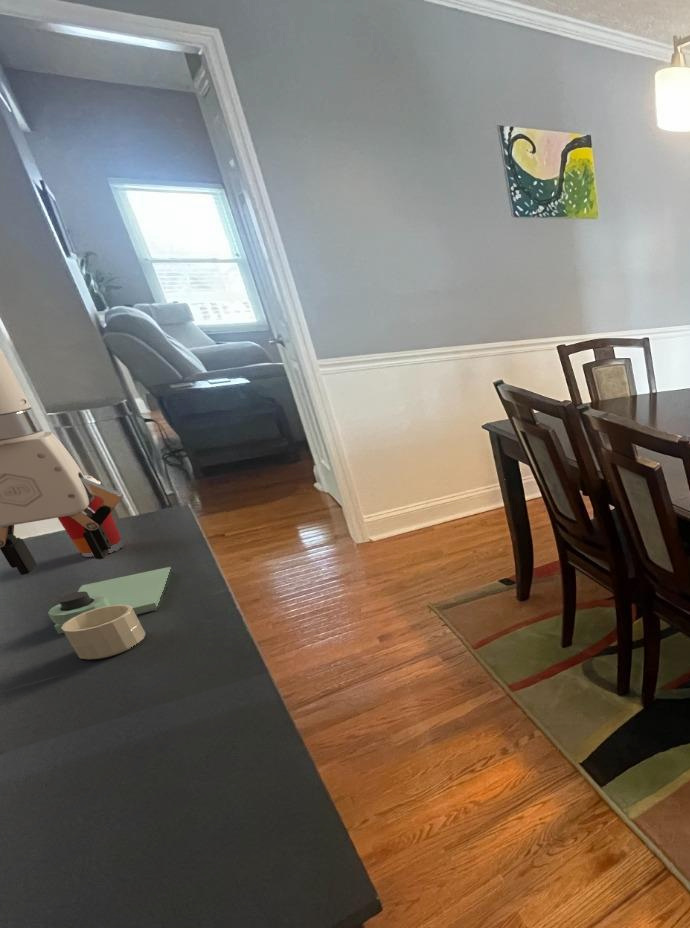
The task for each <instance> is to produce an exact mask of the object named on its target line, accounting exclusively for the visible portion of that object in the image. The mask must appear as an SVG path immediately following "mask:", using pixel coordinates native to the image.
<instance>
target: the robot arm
mask: <svg viewBox="0 0 690 928" xmlns="http://www.w3.org/2000/svg"><path fill="white" fill-rule="evenodd" d="M85 476H86V475H85V474H84V473H83V471H82V470H81V468H80V466H79V465H78V463H77V462H76V460H74V458H73V456H72V455H71V454H70V452H69V451H68V449H66V447H65V445H64V444H63V443H62V442H61V441H60V439H59V438H58V437H57V436H56V435H55V434H54V433H53V432H52V431H44V428H43V426H42V425H41V422H40V420H39V419H38V417H37V415H36V413H35V411H34V409H33V407H32V406H31V404H30V401H29V400H28V398H27V396H26V394H25V392H24V390H23V388H22V386H21V384H20V382H19V380H18V379H17V376H16V375H15V372H14V371H13V369H12V366H11V365H10V363H9V361H8V359H7V357H6V356H5V353H4V351H3V350H2V348H1V347H0V551H1V553H2V554H3V556H4V558H5V559H6V561H7V563H8V564H9V566H10V567H11V568H12V569H14V568H15V569H17V570H18V572H19V574H20V575H22V576H23V575H28V574H29V573H31V572H32V571H33V570H34V568H35V567H36V566H37V562H36V560H35V558H34V557H33V555H32V553H31V551H30V549H29V547H28V546H27V544H26V542H25V541H24V539H23V538H20V537H17V536H16V535H14V533H15V526H16V525H21V524H27V523H33V522H40V521H46V520H51V519H58V517H64V516H70V517H71V518H73V519H74V520H75V521H77V522H78V523H79V524H81V525H82V526H83V527H84V529H85V531H84V533H83V536H84V538H85V540H86V541H87V543H88V545H89V547H90V549H91V551H92V553H93V555H94V557H93V558H94V559H96V560H105V559H106V557H107V556H108V555H109V554H108V552H109V550H108V549H111V543H110V541H109V539H108V537H107V535H106V533H105V531H104V529H103V527H102V525H101V524H102V523H103V521H104V520H105V519H106V518H107V516H108V515H109V514H110V513H111V512H112V511H113V510H114V509H115V508H116V507H117V505H118V504H119V503H120V501H121V500H122V498H123V497H124V494H123V493H122V492H121V491H117V490H115V489H113V488H110V487H107V486H104V485H102V484H97V483H95V482H92V481H90V480H87V479H86V478H85ZM94 496H97V497H100V498H102V499H103V503H102V504H101V506H100V507H99V508H98V509H97V511H96V512H95V511H93V510H92V509H91V508H89V507H88V505H89V503H90V502H91V501H93V500H94ZM111 514H112V513H111Z"/></svg>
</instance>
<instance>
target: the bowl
mask: <svg viewBox="0 0 690 928" xmlns="http://www.w3.org/2000/svg"><path fill="white" fill-rule="evenodd" d="M61 629H62V631H63V632H64V633H63V635H64V636H65V638H66V639H67V641H68V642H69V644H70V646H71V648H72V649H73V651H74V653H75V654H76V656H77V657H78V658H79V659H82V660H101V659H105V658H109V657H113V656H116V655H119V654H121V653H124V652H127V651H128V650H129V651H130V649H132V648H134V647H135V646H137V645H138V644H139V643H140V642H141V641H143V640H144V639H145V637H146V632H145V629H144V627H143V625H142V624H141V622H140V620H139V618H138V615H136V614H135V612H134V610H133V608H132V607H131V606H130V605H125V604H118V605H110V606H105V607H101V608H97V609H94V610H91V611H88V612H85V613H82V614H80V615H78V616H75V617H73V618H71V619H70V620H68V621H67V622H65V623H64V624H63V626H62V627H61ZM137 643H138V644H137ZM136 644H137V645H136ZM134 645H135V646H134ZM133 646H134V647H133ZM131 647H132V648H131Z"/></svg>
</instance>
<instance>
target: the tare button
mask: <svg viewBox="0 0 690 928" xmlns="http://www.w3.org/2000/svg"><path fill="white" fill-rule="evenodd" d="M58 603H59V604H60V605H61V606H62V608H63V610H64V611H70V610H74V609H79V608H81V607H84V606H87V605H89V604H91V603H92V600H91V598H90V597H89V595H88V593H87V592H78V591H77V592H72V593H69V594H65V595H64V596H61V597H60V598H59V599H58Z"/></svg>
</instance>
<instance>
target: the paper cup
mask: <svg viewBox="0 0 690 928" xmlns="http://www.w3.org/2000/svg"><path fill="white" fill-rule="evenodd" d="M84 476H85V478H86V479H87V480H90V481H92V482H95V483H97V484H100V485H102V484H101V483H102V482H101V481H100V480H97V478H94V477H93V476H92V475H84ZM102 503H103V499H102V498H100V497H97V496H94V500H93V501H91V502H90V503H89V505H88V507H89V508H91V509H92V510H93V511H95V512H96V511H97V509H98V508H99V507H100V506H101V504H102ZM57 519H58V521H59V523H60V524H61V526H62V527H63V528H64V531H65V532H66V533H67V535H68V536H69V538H70V539H71V541H72V543H73V545H74V546H75V547H76V549H77V550H78V551H79V553H80V552H81V553H91V552H92V551H91V549H90V547H89V545H88V543H87V541H86V540H85V538H84V536H83V533H84V531H85V529H84V527H83V526H82V525H81V524H79V523H78V522H77V521H75V520H74V519H73V518H71V517H70V516H64V517H58V518H57ZM101 525H102V527H103V529H104V531H105V533H106V535H107V537H108V539H109V541H110V543H111V546H112V545H114V544H117V543H118V542H119V541H120V540H122V538H121V535H120V533H119V531H118V527H117V525H116V523H115V520H114V518H113V516H112V513H110V514H109V515H108V516H107V518H106V519H105V520H104V521H103V523H102V524H101ZM81 553H80V554H81Z"/></svg>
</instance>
